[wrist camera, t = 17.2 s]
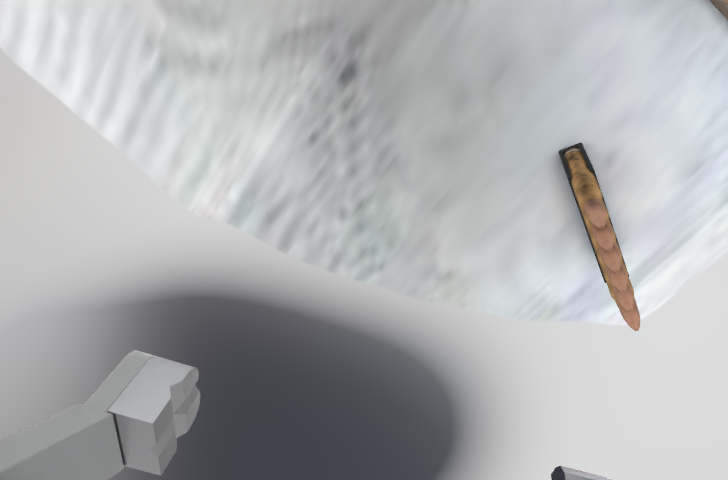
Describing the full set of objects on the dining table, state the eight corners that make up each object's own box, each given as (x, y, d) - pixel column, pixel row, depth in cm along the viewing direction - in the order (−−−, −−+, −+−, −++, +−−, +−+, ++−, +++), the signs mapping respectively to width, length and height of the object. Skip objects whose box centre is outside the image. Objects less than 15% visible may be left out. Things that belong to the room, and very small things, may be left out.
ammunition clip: (616, 246, 44) (654, 337, 34) (594, 252, 45) (625, 343, 35) (581, 142, 40) (613, 209, 30) (558, 150, 41) (582, 219, 31)
